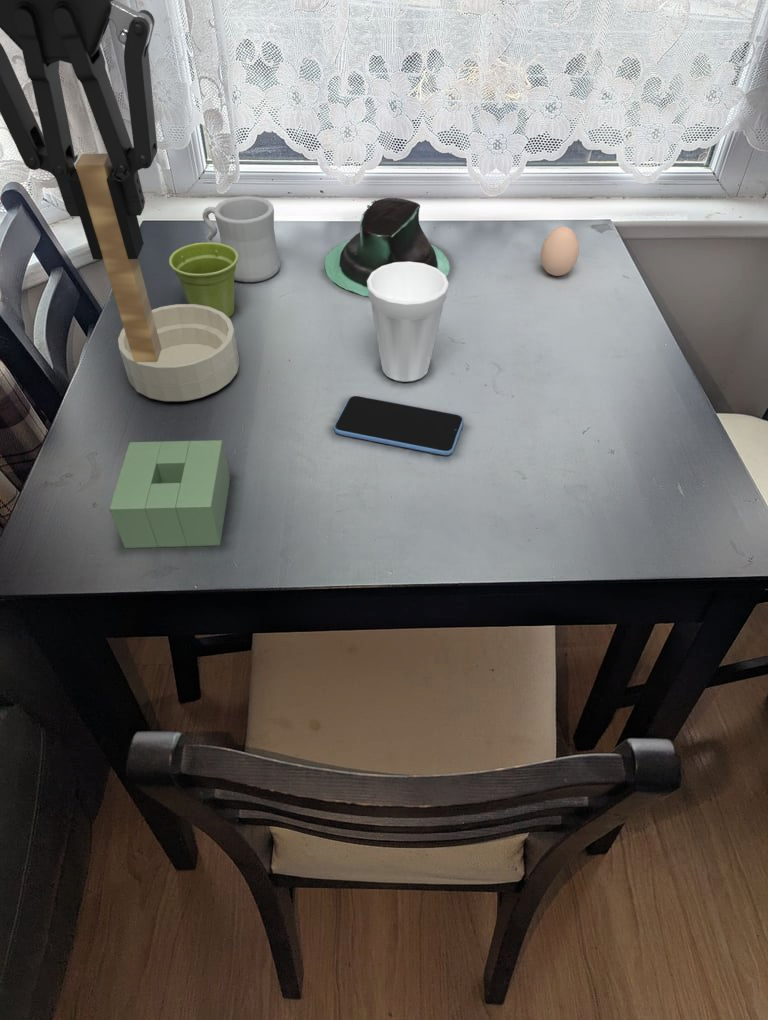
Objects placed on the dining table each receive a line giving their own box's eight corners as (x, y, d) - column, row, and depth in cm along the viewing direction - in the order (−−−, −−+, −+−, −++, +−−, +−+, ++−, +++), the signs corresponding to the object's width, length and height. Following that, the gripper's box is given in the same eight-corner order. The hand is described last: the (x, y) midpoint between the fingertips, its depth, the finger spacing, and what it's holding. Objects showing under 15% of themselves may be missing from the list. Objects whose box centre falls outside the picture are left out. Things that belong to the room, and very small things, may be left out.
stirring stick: (133, 362, 68) (74, 164, 55) (138, 348, 70) (81, 153, 57) (157, 362, 68) (103, 164, 55) (161, 348, 70) (110, 153, 57)
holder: (124, 548, 76) (108, 509, 72) (142, 481, 83) (129, 441, 79) (220, 545, 77) (210, 506, 72) (230, 479, 84) (222, 439, 79)
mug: (291, 263, 118) (285, 201, 111) (262, 289, 112) (254, 226, 105) (225, 247, 121) (215, 187, 114) (194, 273, 116) (182, 211, 108)
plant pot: (210, 289, 112) (200, 235, 106) (258, 307, 109) (251, 252, 102) (167, 318, 107) (154, 262, 100) (217, 337, 103) (207, 281, 97)
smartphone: (350, 393, 93) (465, 414, 90) (350, 398, 94) (464, 420, 91) (331, 429, 88) (452, 452, 85) (331, 434, 89) (451, 458, 86)
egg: (578, 282, 114) (588, 235, 109) (543, 284, 114) (551, 237, 108) (567, 263, 118) (577, 218, 112) (533, 266, 118) (540, 220, 112)
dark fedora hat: (447, 299, 109) (315, 296, 110) (448, 296, 126) (334, 293, 128) (452, 190, 104) (314, 188, 106) (452, 203, 122) (334, 201, 123)
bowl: (158, 421, 91) (147, 381, 86) (112, 365, 98) (100, 327, 94) (259, 379, 97) (253, 340, 92) (208, 330, 104) (201, 292, 100)
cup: (364, 391, 95) (363, 301, 85) (371, 347, 102) (370, 259, 92) (441, 394, 94) (448, 304, 85) (442, 350, 101) (449, 262, 92)
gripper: (153, -123, 47) (215, 229, 64) (-86, -122, 47) (40, 231, 64) (129, -105, 42) (203, 272, 59) (-140, -104, 42) (13, 275, 59)
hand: (118, 250), depth 61 cm, fingers closed on stirring stick, 2 cm apart
